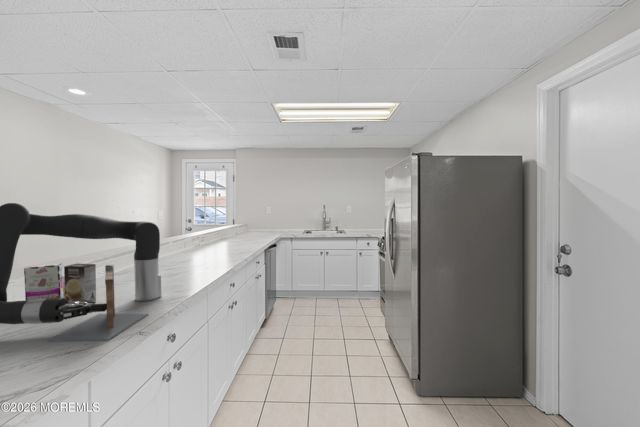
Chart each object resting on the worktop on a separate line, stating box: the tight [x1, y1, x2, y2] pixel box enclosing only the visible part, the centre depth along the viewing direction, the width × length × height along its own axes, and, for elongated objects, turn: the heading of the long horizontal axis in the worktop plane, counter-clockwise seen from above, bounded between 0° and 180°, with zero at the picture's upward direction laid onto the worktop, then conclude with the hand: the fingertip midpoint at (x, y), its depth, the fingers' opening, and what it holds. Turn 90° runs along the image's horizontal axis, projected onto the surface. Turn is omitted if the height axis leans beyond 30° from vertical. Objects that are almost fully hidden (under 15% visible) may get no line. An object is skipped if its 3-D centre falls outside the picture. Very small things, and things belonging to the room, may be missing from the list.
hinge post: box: [104, 264, 116, 317], centre depth 114 cm, size 2×2×19 cm
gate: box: [104, 270, 114, 329], centre depth 105 cm, size 16×2×15 cm, turn 33°
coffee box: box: [63, 263, 97, 303], centre depth 131 cm, size 9×6×16 cm
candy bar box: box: [23, 263, 63, 300], centre depth 130 cm, size 11×5×16 cm, turn 117°
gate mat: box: [47, 313, 149, 342], centre depth 106 cm, size 22×18×1 cm
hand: (106, 307), depth 104 cm, fingers closed
